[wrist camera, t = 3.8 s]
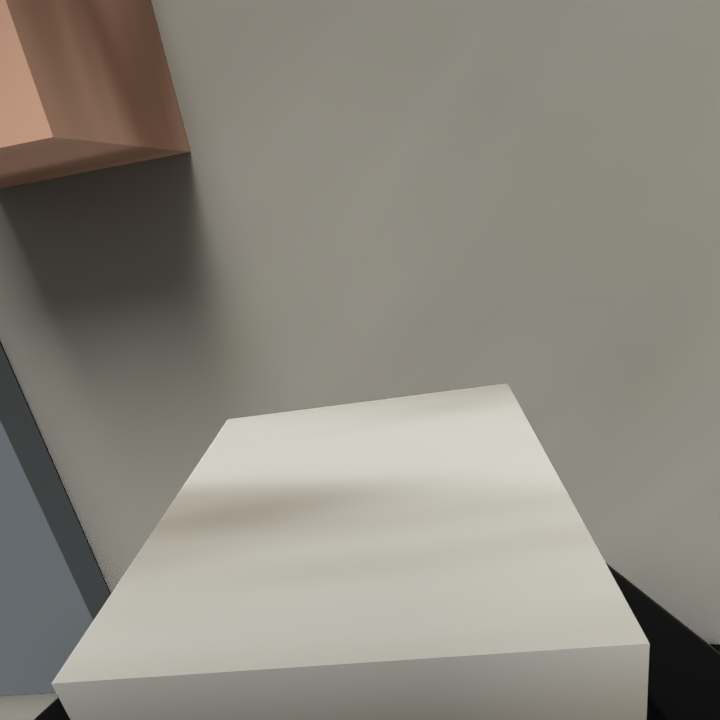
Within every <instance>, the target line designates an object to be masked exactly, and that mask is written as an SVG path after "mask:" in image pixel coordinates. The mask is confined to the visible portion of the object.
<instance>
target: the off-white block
mask: <svg viewBox="0 0 720 720" xmlns="http://www.w3.org/2000/svg"><path fill="white" fill-rule="evenodd" d="M649 648H650V643H649V641H648V639H647V638H646V636H645V634H644V632H643V630H642V629H641V627H640V625H639V623H638V621H637V619H636V618H635V616H634V614H633V612H632V610H631V608H630V607H629V605H628V603H627V601H626V599H625V597H624V596H623V594H622V592H621V590H620V588H619V587H618V585H617V583H616V581H615V579H614V577H613V576H612V574H611V572H610V570H609V568H608V566H607V565H606V563H605V561H604V559H603V557H602V555H601V554H600V552H599V550H598V548H597V546H596V544H595V543H594V541H593V539H592V537H591V535H590V534H589V532H588V530H587V528H586V526H585V524H584V523H583V521H582V519H581V517H580V515H579V513H578V512H577V510H576V508H575V506H574V504H573V502H572V501H571V499H570V497H569V495H568V493H567V492H566V490H565V488H564V486H563V484H562V482H561V481H560V479H559V477H558V475H557V473H556V471H555V470H554V468H553V466H552V464H551V462H550V460H549V459H548V457H547V455H546V453H545V451H544V449H543V448H542V446H541V444H540V442H539V440H538V439H537V437H536V435H535V433H534V431H533V429H532V428H531V426H530V424H529V422H528V420H527V418H526V417H525V415H524V413H523V411H522V409H521V407H520V406H519V404H518V402H517V400H516V398H515V397H514V395H513V393H512V391H511V389H510V387H509V386H508V384H500V385H492V386H484V387H476V388H468V389H461V390H453V391H445V392H437V393H429V394H422V395H414V396H406V397H398V398H390V399H383V400H375V401H367V402H359V403H351V404H344V405H336V406H328V407H320V408H313V409H305V410H297V411H289V412H281V413H274V414H266V415H258V416H250V417H242V418H235V419H227V421H226V422H225V424H224V425H223V427H222V428H221V430H220V431H219V433H218V434H217V436H216V437H215V439H214V440H213V442H212V443H211V445H210V446H209V448H208V449H207V451H206V452H205V454H204V455H203V457H202V458H201V460H200V461H199V463H198V464H197V466H196V467H195V469H194V470H193V472H192V473H191V475H190V476H189V478H188V479H187V481H186V482H185V484H184V485H183V487H182V488H181V490H180V491H179V493H178V494H177V496H176V497H175V499H174V500H173V502H172V503H171V505H170V506H169V508H168V509H167V511H166V512H165V514H164V515H163V517H162V518H161V520H160V521H159V523H158V524H157V526H156V527H155V529H154V530H153V532H152V533H151V535H150V536H149V538H148V539H147V541H146V542H145V544H144V545H143V547H142V548H141V550H140V551H139V553H138V554H137V556H136V557H135V559H134V560H133V562H132V563H131V565H130V566H129V568H128V569H127V571H126V572H125V574H124V575H123V577H122V578H121V580H120V581H119V583H118V584H117V586H116V587H115V589H114V590H113V592H112V593H111V595H110V596H109V598H108V599H107V601H106V602H105V604H104V605H103V607H102V608H101V610H100V611H99V613H98V614H97V616H96V617H95V619H94V620H93V622H92V623H91V625H90V626H89V628H88V629H87V631H86V632H85V634H84V635H83V637H82V638H81V640H80V641H79V643H78V644H77V646H76V647H75V649H74V650H73V652H72V653H71V655H70V656H69V658H68V659H67V661H66V662H65V664H64V665H63V667H62V668H61V670H60V671H59V673H58V674H57V676H56V677H55V679H54V680H53V682H52V683H51V684H52V686H53V688H54V690H55V692H56V694H57V695H58V697H59V699H60V701H61V703H62V705H63V707H64V708H65V710H66V712H67V714H68V716H69V718H70V720H647V697H648V673H649Z"/></svg>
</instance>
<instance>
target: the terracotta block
mask: <svg viewBox="0 0 720 720" xmlns="http://www.w3.org/2000/svg"><path fill="white" fill-rule="evenodd" d="M187 152H191V151H190V147H189V143H188V140H187V136H186V132H185V128H184V125H183V121H182V117H181V113H180V109H179V106H178V102H177V98H176V94H175V91H174V87H173V83H172V79H171V75H170V72H169V68H168V64H167V60H166V56H165V53H164V49H163V45H162V41H161V38H160V34H159V30H158V26H157V22H156V19H155V15H154V11H153V7H152V3H151V0H0V189H2V188H8V187H13V186H18V185H23V184H28V183H33V182H38V181H43V180H49V179H54V178H59V177H64V176H69V175H74V174H79V173H85V172H90V171H95V170H100V169H105V168H110V167H115V166H120V165H126V164H131V163H136V162H141V161H146V160H151V159H156V158H162V157H167V156H172V155H177V154H182V153H187Z"/></svg>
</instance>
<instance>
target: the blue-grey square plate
mask: <svg viewBox="0 0 720 720" xmlns="http://www.w3.org/2000/svg"><path fill="white" fill-rule="evenodd" d="M109 596H110V593H109V591H108V588H107V586H106V584H105V582H104V579H103V577H102V575H101V572H100V570H99V568H98V566H97V563H96V561H95V559H94V556H93V554H92V552H91V550H90V547H89V545H88V543H87V540H86V538H85V536H84V534H83V531H82V529H81V527H80V525H79V522H78V520H77V518H76V515H75V513H74V511H73V509H72V506H71V504H70V502H69V499H68V497H67V495H66V493H65V490H64V488H63V486H62V483H61V481H60V479H59V477H58V474H57V472H56V470H55V467H54V465H53V463H52V461H51V458H50V456H49V454H48V452H47V449H46V447H45V445H44V442H43V440H42V438H41V436H40V433H39V431H38V429H37V426H36V424H35V422H34V420H33V417H32V415H31V413H30V410H29V408H28V406H27V404H26V401H25V399H24V397H23V395H22V392H21V390H20V388H19V385H18V383H17V381H16V379H15V376H14V374H13V372H12V369H11V367H10V365H9V363H8V360H7V358H6V356H5V353H4V351H3V349H2V347H1V344H0V696H13V695H29V694H44V693H56V692H55V690H54V688H53V686H52V684H51V683H52V682H53V680H54V679H55V677H56V676H57V674H58V673H59V671H60V670H61V668H62V667H63V665H64V664H65V662H66V661H67V659H68V658H69V656H70V655H71V653H72V652H73V650H74V649H75V647H76V646H77V644H78V643H79V641H80V640H81V638H82V637H83V635H84V634H85V632H86V631H87V629H88V628H89V626H90V625H91V623H92V622H93V620H94V619H95V617H96V616H97V614H98V613H99V611H100V610H101V608H102V607H103V605H104V604H105V602H106V601H107V599H108V598H109Z"/></svg>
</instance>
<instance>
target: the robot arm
mask: <svg viewBox="0 0 720 720" xmlns="http://www.w3.org/2000/svg"><path fill="white" fill-rule="evenodd" d="M606 565H607V566H608V568H609V570H610V572H611V574H612V576H613V577H614V579H615V581H616V583H617V585H618V587H619V588H620V590H621V592H622V594H623V596H624V597H625V599H626V601H627V603H628V605H629V607H630V608H631V610H632V612H633V614H634V616H635V618H636V619H637V621H638V623H639V625H640V627H641V629H642V630H643V632H644V634H645V636H646V638H647V639H648V641H649V643H650V648H649V673H648V697H647V720H720V645H717V644H712V645H709V644H708V643H707V642H705V641H704V640H703V639H702V638H700V637H699V636H698V635H697V634H695V633H694V632H693V631H691V630H690V629H689V628H688V627H686V626H685V625H684V624H683V623H681V622H680V621H679V620H678V619H676V618H675V617H674V616H673V615H671V614H670V613H669V612H667V611H666V610H665V609H664V608H662V607H661V606H660V605H659V604H657V603H656V602H655V601H654V600H652V599H651V598H650V597H648V596H647V595H646V594H645V593H643V592H642V591H641V590H640V589H638V588H637V587H636V586H635V585H633V584H632V583H631V582H629V581H628V580H627V579H626V578H624V577H623V576H622V575H621V574H619V573H618V572H617V571H616V570H614V569H613V568H612V567H610V566H609V565H608V564H607V563H606ZM34 720H70V718H69V716H68V714H67V712H66V710H65V708H64V707H63V705H62V703H61V701H60V699H59V697H58V698H57V699H56V700H55V701H54V702H53V703H52V704H51V705H50V706H48V707H47V708H46V709H45V710H44V711H43V712H42V713H41V714H40V715H38V716H37V717H36V718H35V719H34Z"/></svg>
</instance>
